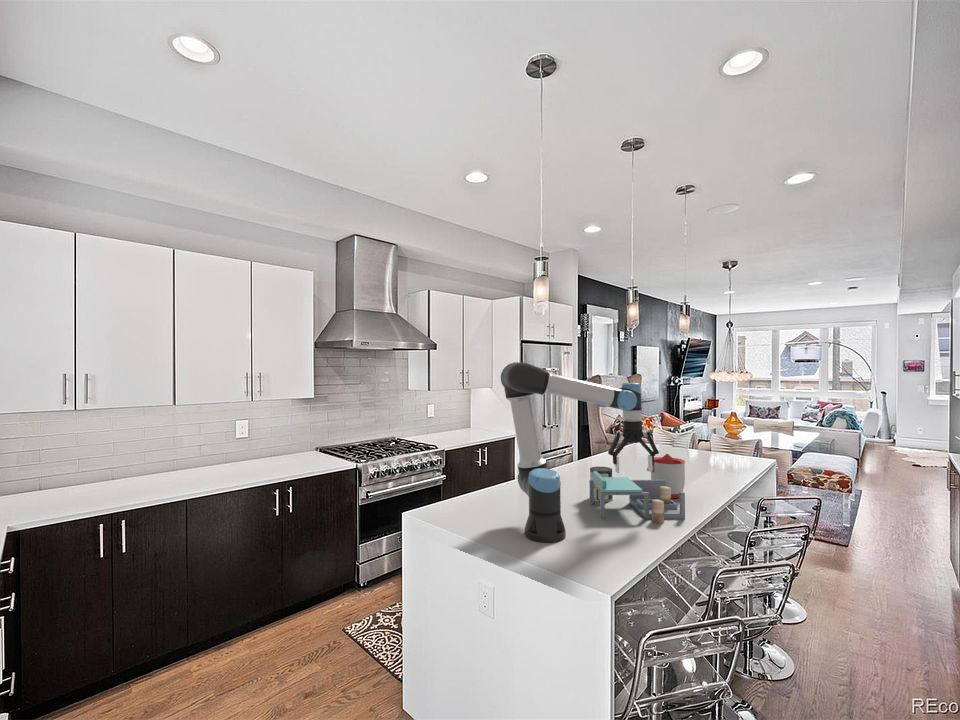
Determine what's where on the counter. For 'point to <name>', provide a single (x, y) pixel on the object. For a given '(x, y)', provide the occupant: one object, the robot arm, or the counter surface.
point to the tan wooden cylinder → (665, 494)
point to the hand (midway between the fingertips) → (633, 471)
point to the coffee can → (604, 473)
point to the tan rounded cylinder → (658, 511)
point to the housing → (644, 499)
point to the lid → (615, 484)
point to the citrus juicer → (669, 473)
